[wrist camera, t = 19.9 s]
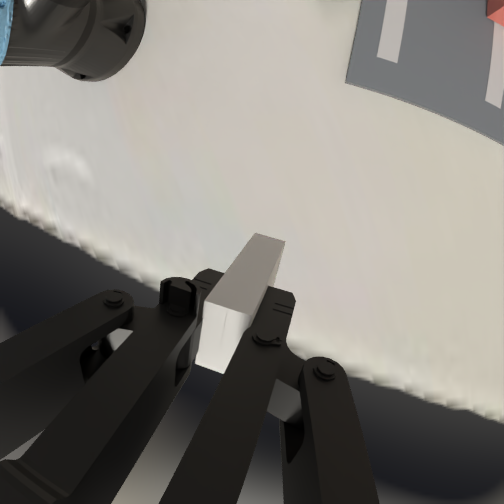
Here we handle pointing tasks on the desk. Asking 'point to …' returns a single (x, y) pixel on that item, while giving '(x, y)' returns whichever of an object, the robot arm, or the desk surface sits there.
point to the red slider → (496, 11)
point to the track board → (434, 59)
